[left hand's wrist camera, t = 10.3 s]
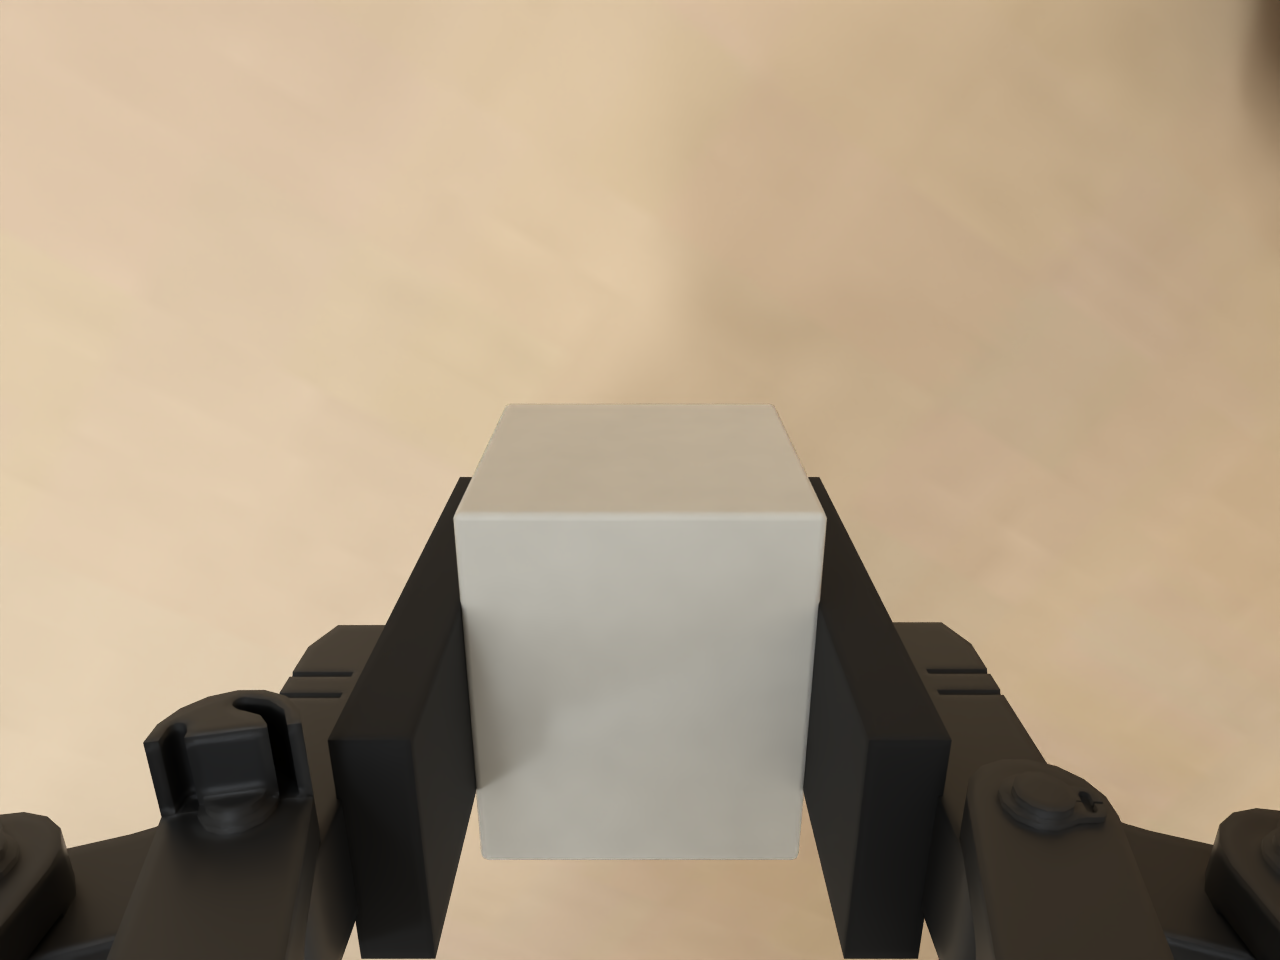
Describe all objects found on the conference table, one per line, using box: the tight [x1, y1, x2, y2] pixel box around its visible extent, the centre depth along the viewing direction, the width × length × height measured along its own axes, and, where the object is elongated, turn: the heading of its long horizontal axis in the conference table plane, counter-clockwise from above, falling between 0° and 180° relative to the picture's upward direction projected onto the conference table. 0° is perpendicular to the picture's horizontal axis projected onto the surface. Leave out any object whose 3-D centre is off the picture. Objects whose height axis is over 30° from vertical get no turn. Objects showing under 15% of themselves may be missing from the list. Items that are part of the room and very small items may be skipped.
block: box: [453, 404, 827, 860], centre depth 13 cm, size 5×4×4 cm
